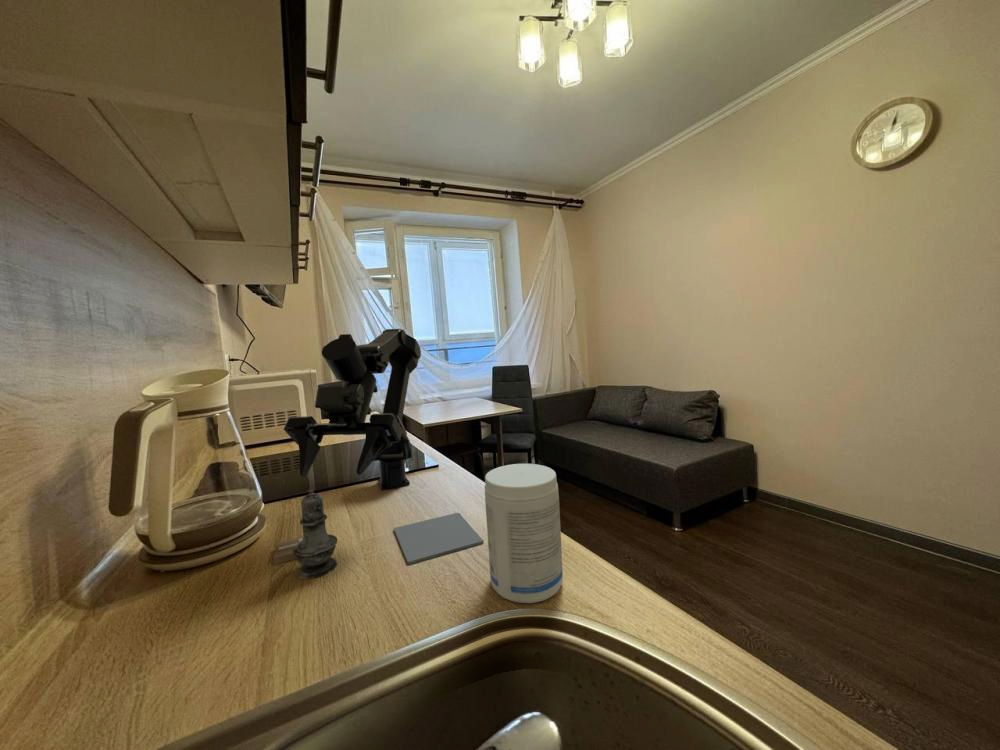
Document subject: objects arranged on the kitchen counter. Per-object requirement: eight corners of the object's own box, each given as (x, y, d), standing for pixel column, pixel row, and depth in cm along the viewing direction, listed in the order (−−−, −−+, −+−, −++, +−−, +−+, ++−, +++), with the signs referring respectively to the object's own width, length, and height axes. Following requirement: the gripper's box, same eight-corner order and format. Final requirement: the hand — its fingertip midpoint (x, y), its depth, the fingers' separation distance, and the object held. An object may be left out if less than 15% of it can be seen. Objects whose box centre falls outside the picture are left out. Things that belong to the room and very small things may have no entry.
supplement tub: (574, 573, 51) (570, 468, 50) (543, 618, 43) (538, 492, 42) (512, 555, 56) (508, 459, 55) (475, 591, 48) (469, 479, 47)
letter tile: (277, 551, 61) (276, 542, 61) (311, 543, 63) (310, 534, 63) (274, 567, 56) (273, 557, 56) (311, 557, 59) (310, 548, 58)
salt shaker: (306, 585, 51) (299, 499, 50) (287, 571, 54) (280, 491, 53) (347, 564, 55) (340, 485, 55) (326, 552, 59) (320, 478, 58)
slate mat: (393, 530, 65) (393, 528, 65) (458, 514, 71) (458, 512, 70) (408, 564, 55) (407, 562, 55) (483, 543, 60) (483, 540, 60)
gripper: (285, 370, 64) (244, 451, 54) (392, 366, 63) (371, 447, 53) (313, 409, 73) (283, 484, 62) (408, 405, 72) (393, 481, 61)
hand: (330, 474), depth 60 cm, fingers open, 9 cm apart
